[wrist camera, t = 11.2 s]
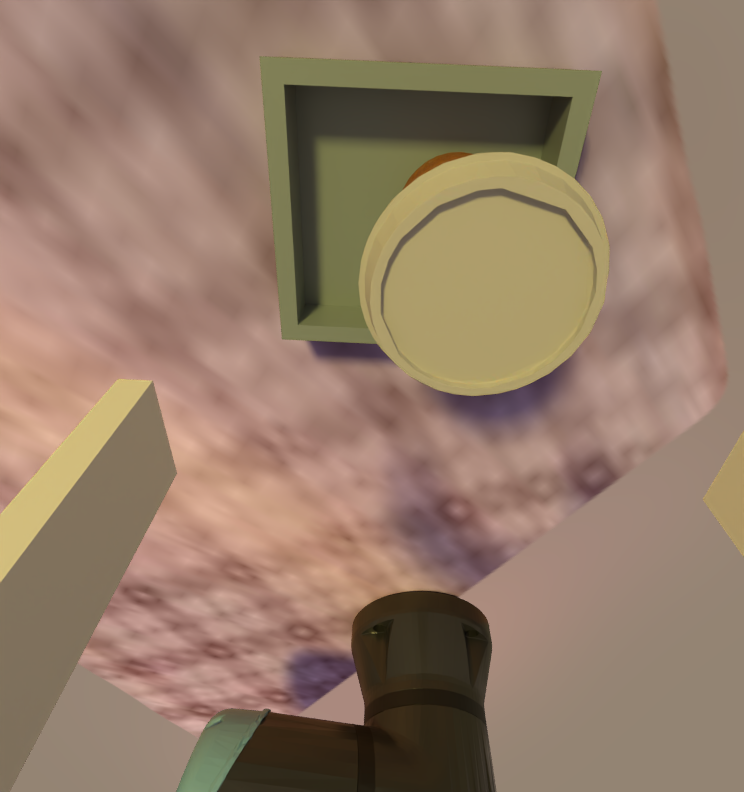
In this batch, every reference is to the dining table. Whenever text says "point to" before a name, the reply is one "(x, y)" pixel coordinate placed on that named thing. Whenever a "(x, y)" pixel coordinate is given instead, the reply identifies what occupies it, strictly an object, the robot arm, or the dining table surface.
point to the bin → (387, 158)
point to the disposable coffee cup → (484, 272)
